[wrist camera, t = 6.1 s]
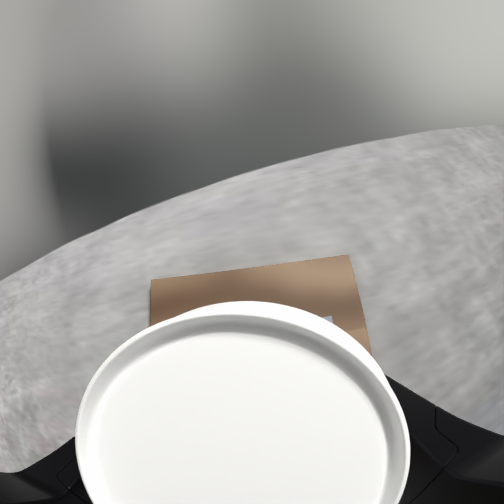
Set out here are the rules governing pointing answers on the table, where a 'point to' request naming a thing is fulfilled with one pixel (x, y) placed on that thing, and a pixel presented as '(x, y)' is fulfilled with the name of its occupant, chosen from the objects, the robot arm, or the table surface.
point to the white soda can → (242, 414)
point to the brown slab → (270, 292)
